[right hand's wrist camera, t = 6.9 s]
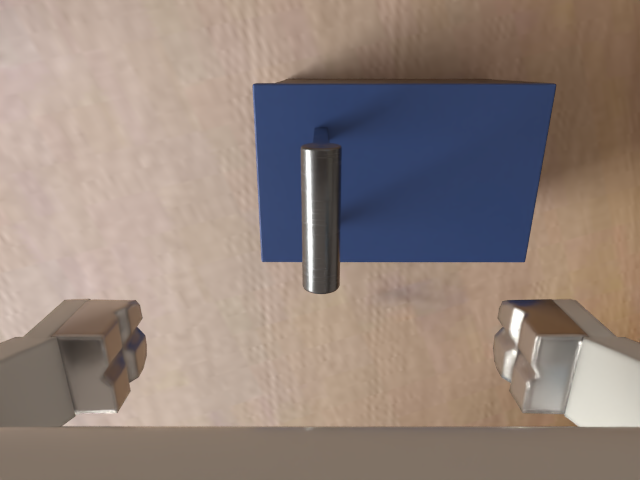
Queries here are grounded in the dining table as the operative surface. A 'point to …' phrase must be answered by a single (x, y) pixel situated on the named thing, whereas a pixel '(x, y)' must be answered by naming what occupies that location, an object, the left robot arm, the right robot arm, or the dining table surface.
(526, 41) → the dining table surface
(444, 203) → the lid
